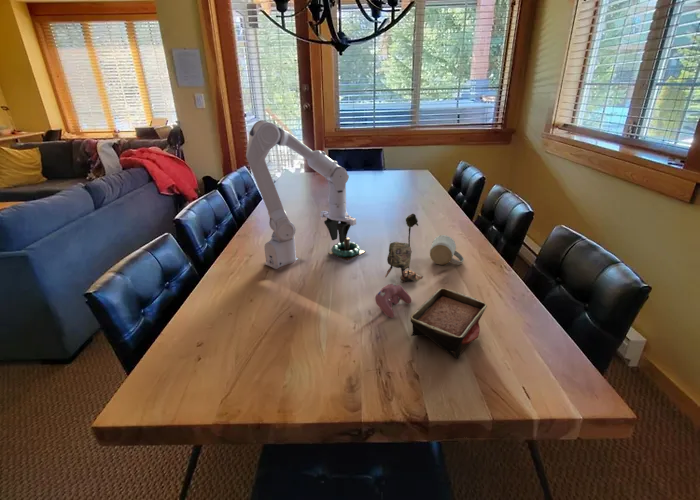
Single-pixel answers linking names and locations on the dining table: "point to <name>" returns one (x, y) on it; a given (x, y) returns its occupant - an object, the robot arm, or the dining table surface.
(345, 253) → the ring
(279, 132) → the robot arm
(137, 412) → the dining table surface
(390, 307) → the video game controller
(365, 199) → the dining table surface
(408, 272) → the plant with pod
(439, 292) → the baking dish
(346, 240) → the brown peg stand
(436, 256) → the ceramic mug
